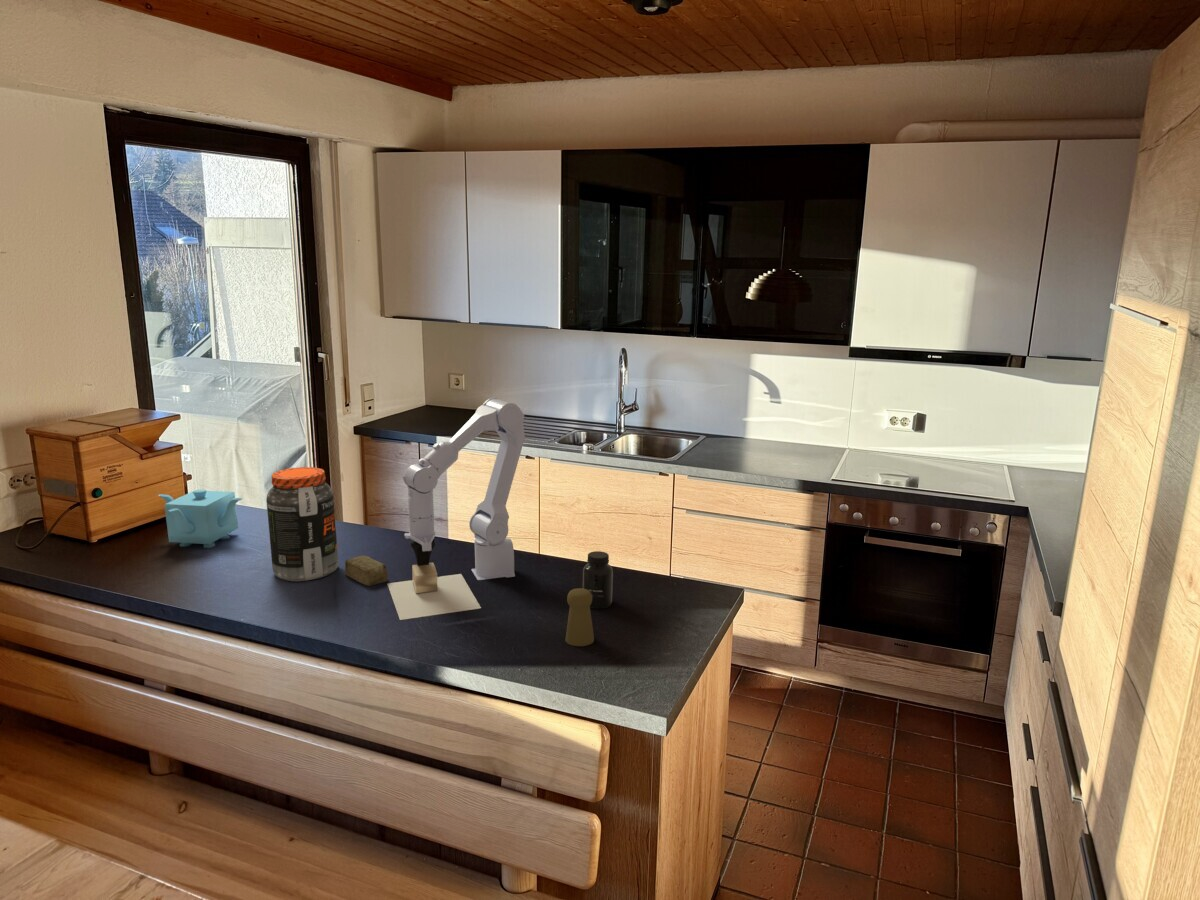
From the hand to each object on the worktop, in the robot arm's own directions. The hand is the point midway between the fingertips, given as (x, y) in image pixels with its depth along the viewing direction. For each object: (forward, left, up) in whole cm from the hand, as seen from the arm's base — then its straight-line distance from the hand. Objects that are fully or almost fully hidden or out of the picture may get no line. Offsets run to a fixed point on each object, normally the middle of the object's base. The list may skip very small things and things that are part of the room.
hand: (423, 569), depth 200 cm
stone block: (+12, -11, -6) cm, 18 cm away
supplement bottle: (-36, +22, -5) cm, 43 cm away
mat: (-1, +6, -5) cm, 8 cm away
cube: (0, +1, -4) cm, 4 cm away
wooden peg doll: (-26, +38, -5) cm, 46 cm away
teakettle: (+52, -55, -5) cm, 76 cm away
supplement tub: (+26, -22, -5) cm, 34 cm away
